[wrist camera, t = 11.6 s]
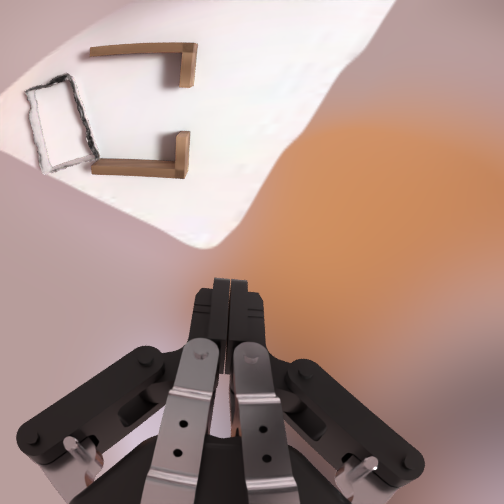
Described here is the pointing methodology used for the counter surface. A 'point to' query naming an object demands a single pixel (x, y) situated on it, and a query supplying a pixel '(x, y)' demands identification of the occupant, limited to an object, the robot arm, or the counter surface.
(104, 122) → the counter surface
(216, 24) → the counter surface
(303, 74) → the counter surface
